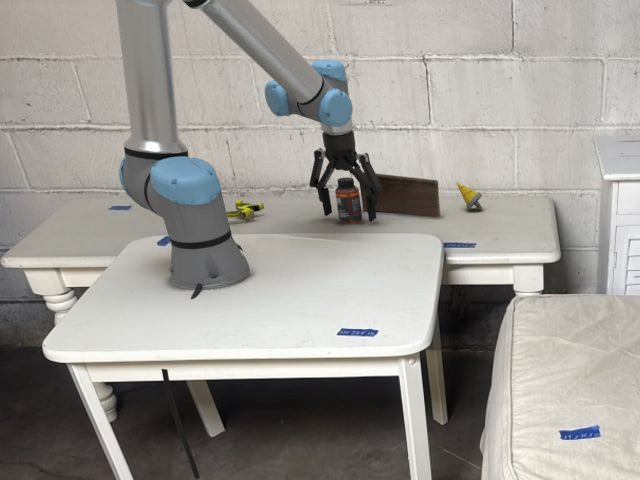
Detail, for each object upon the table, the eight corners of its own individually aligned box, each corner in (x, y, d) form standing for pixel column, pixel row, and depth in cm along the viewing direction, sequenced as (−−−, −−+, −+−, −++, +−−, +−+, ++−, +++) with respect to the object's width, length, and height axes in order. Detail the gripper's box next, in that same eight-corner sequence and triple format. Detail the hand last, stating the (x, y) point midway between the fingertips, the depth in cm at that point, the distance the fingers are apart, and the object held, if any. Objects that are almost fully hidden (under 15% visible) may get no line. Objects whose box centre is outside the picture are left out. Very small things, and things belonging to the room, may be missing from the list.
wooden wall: (437, 218, 193) (435, 181, 187) (362, 209, 197) (357, 173, 192) (440, 216, 194) (438, 179, 188) (366, 207, 199) (361, 170, 193)
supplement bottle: (365, 220, 191) (360, 176, 186) (358, 226, 186) (353, 181, 180) (343, 219, 192) (338, 176, 186) (336, 226, 187) (330, 181, 181)
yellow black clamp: (237, 196, 194) (264, 197, 194) (240, 211, 196) (266, 211, 196) (220, 208, 184) (248, 209, 184) (223, 223, 186) (251, 224, 186)
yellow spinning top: (476, 214, 195) (449, 187, 193) (475, 218, 200) (449, 191, 199) (490, 201, 195) (463, 173, 194) (488, 204, 201) (463, 177, 199)
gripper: (390, 131, 176) (399, 216, 188) (301, 122, 181) (316, 206, 193) (376, 139, 170) (386, 227, 182) (284, 130, 175) (301, 216, 188)
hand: (350, 216), depth 188 cm, fingers open, 12 cm apart
